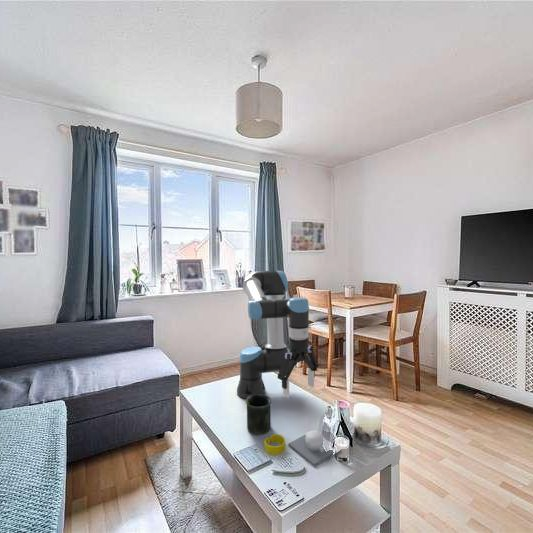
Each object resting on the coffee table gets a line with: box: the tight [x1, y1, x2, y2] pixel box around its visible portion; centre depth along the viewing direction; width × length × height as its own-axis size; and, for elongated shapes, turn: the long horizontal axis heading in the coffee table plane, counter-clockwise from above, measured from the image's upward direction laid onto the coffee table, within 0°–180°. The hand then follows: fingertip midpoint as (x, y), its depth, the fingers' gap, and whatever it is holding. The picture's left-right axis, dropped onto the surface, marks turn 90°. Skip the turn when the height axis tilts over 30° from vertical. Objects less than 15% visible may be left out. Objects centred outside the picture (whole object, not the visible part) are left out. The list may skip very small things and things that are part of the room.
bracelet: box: [264, 433, 286, 456], centre depth 113 cm, size 7×8×3 cm
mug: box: [245, 394, 272, 435], centre depth 128 cm, size 11×15×12 cm
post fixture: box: [287, 429, 334, 468], centre depth 113 cm, size 14×14×5 cm
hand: (299, 391), depth 116 cm, fingers open, 13 cm apart
